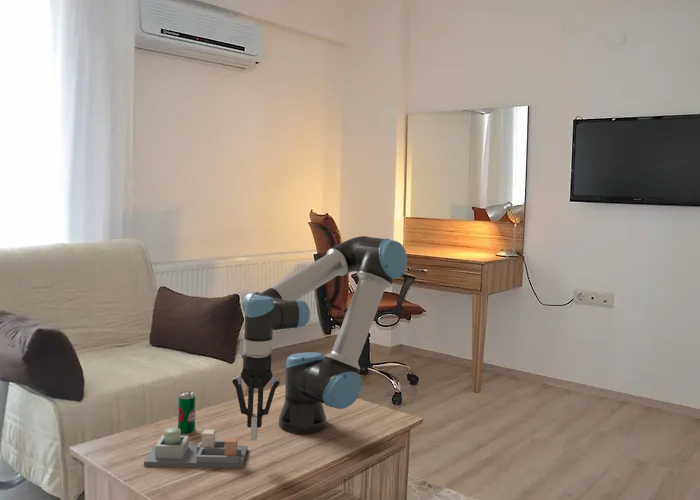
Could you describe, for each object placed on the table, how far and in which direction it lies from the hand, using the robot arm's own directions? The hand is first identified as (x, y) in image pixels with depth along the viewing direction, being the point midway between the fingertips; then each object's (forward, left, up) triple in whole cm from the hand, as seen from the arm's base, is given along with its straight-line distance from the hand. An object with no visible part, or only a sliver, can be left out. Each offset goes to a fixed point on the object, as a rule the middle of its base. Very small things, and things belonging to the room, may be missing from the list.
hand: (253, 438), depth 174 cm
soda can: (+23, -21, -7) cm, 32 cm away
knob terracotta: (+6, 0, -6) cm, 8 cm away
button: (+23, -3, -3) cm, 23 cm away
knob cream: (+13, -5, -6) cm, 15 cm away
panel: (+16, -3, -7) cm, 17 cm away
